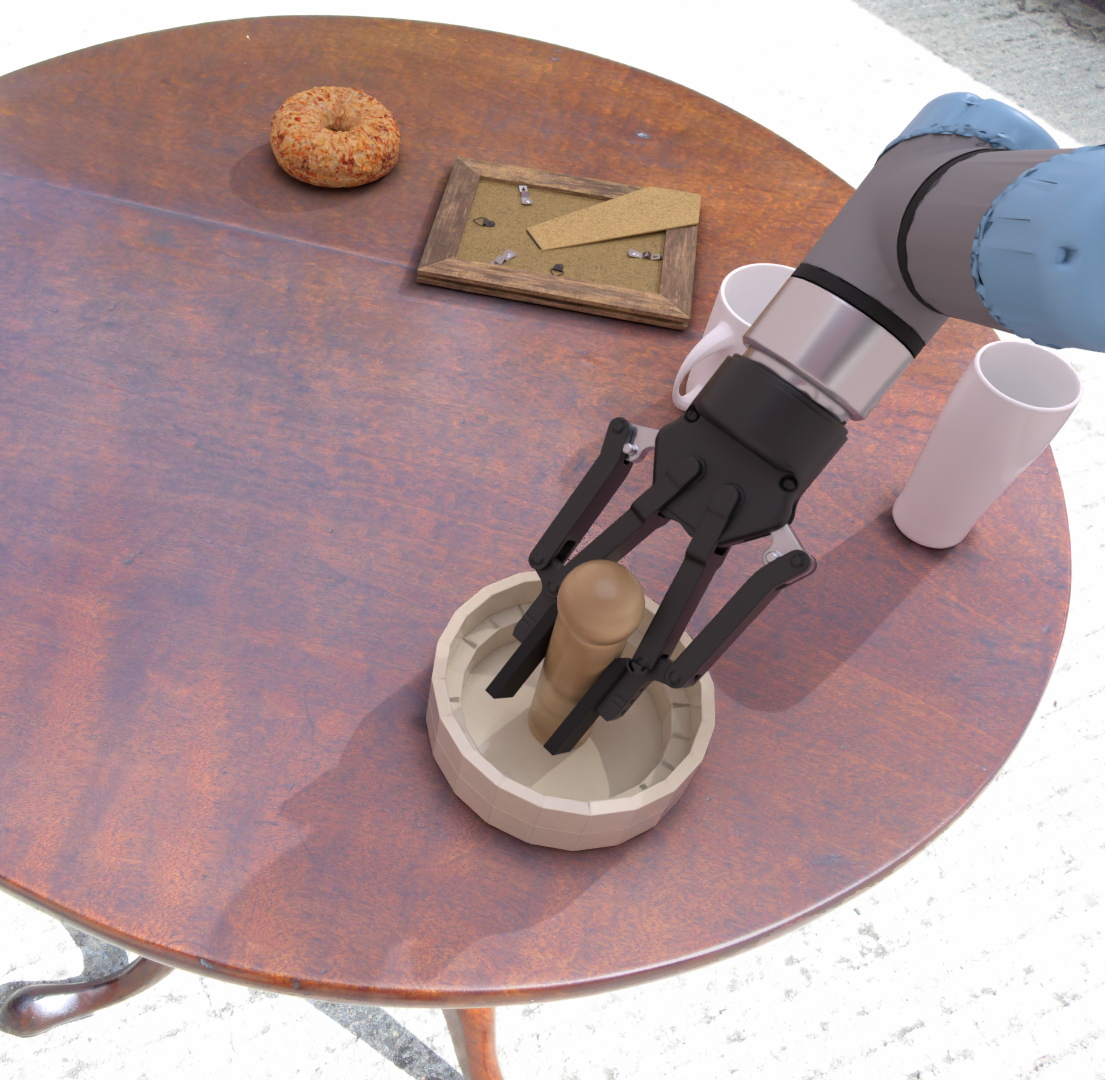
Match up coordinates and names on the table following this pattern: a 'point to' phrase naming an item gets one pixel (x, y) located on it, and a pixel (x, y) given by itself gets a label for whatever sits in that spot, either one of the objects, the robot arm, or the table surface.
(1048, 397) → the drinking glass
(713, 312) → the mug
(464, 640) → the bowl
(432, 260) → the picture frame
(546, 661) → the pestle
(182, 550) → the table surface
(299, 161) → the bagel
